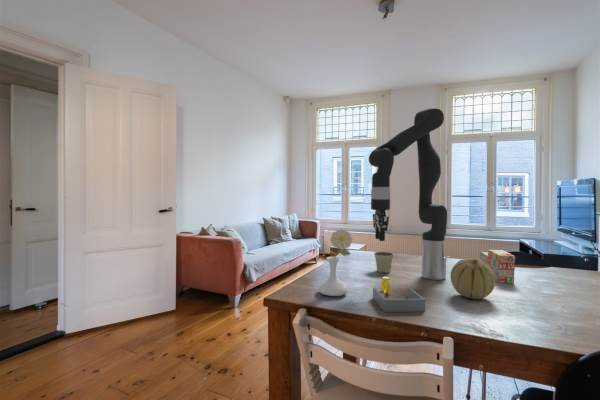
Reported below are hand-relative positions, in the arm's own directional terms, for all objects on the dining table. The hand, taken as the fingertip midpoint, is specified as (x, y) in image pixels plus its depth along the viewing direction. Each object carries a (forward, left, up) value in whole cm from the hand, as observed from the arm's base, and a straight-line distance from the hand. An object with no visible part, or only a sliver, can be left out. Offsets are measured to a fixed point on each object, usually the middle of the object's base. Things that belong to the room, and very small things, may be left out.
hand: (379, 239), depth 127 cm
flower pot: (-9, -22, -19) cm, 31 cm away
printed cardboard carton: (-58, -11, -20) cm, 62 cm away
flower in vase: (+20, +9, -19) cm, 29 cm away
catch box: (0, +20, -19) cm, 28 cm away
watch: (0, +8, -20) cm, 21 cm away
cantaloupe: (-30, +15, -19) cm, 39 cm away
